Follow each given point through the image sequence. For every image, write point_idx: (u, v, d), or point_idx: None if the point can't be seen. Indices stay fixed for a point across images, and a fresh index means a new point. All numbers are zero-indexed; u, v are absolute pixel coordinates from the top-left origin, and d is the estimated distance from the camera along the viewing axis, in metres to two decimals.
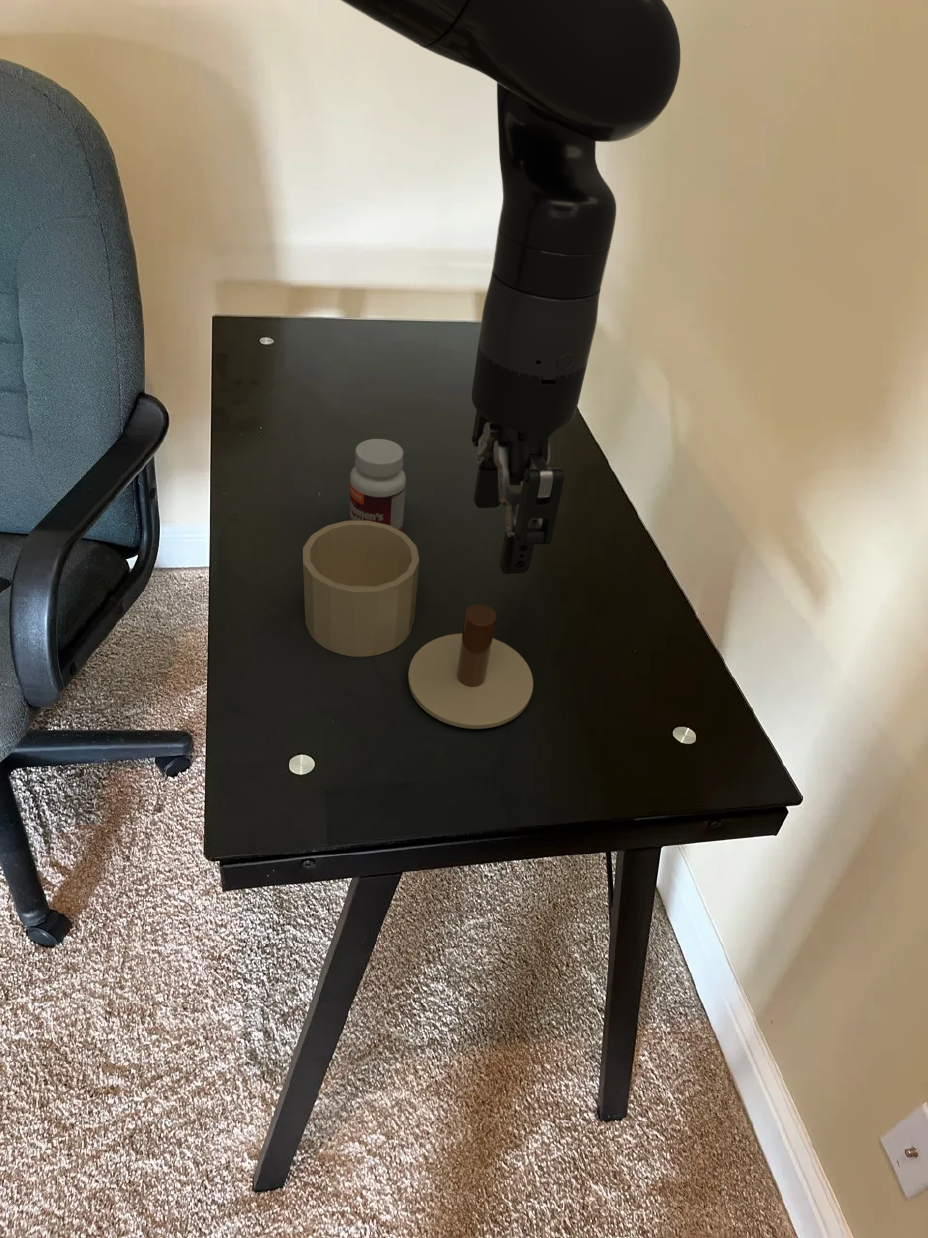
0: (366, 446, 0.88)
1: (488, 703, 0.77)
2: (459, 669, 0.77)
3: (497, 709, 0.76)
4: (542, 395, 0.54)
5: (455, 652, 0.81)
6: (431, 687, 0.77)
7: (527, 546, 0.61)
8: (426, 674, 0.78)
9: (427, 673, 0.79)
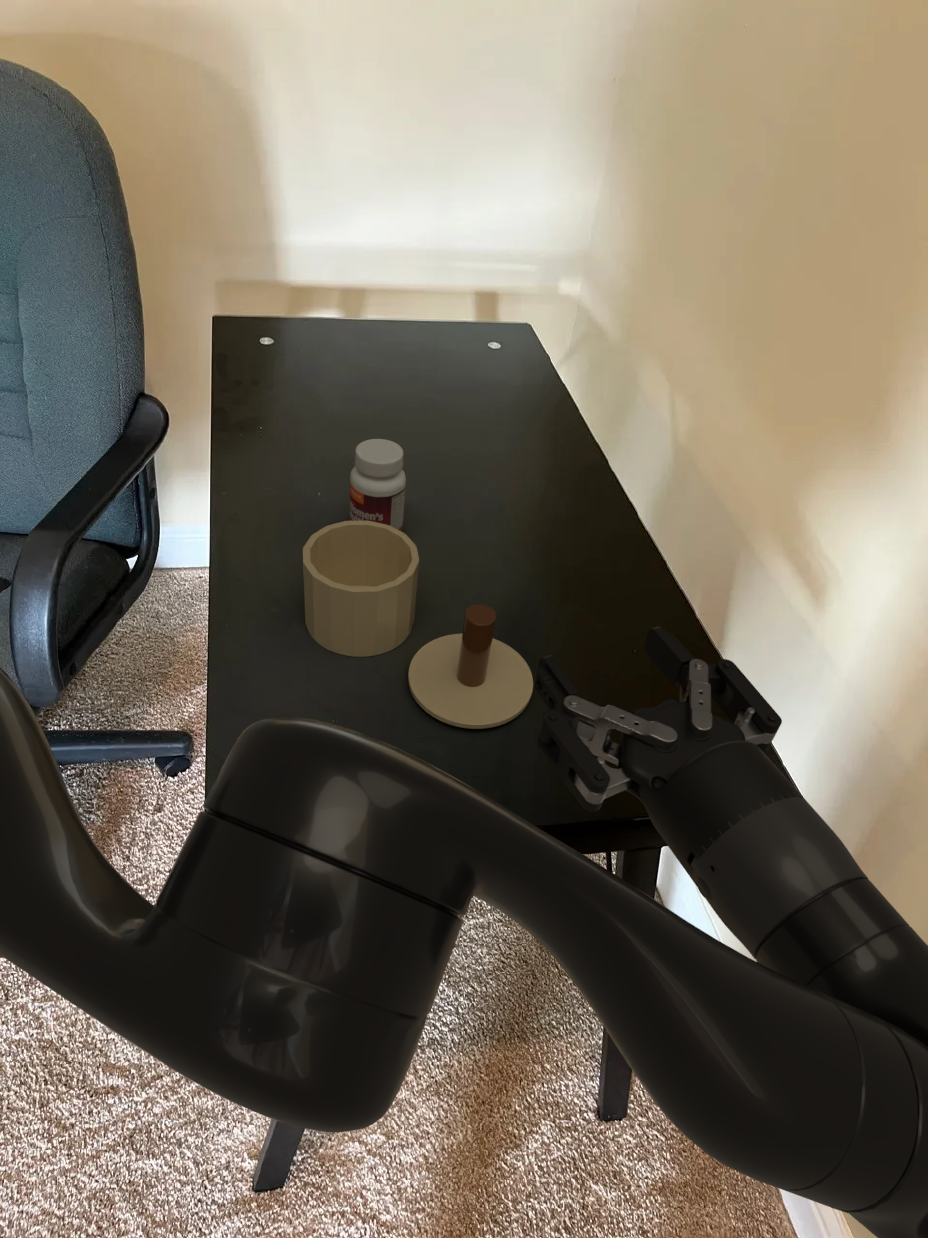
0: (366, 446, 0.88)
1: (488, 703, 0.77)
2: (459, 669, 0.77)
3: (497, 709, 0.76)
4: (681, 841, 0.44)
5: (455, 652, 0.81)
6: (431, 687, 0.77)
7: (551, 706, 0.52)
8: (426, 674, 0.78)
9: (427, 673, 0.79)
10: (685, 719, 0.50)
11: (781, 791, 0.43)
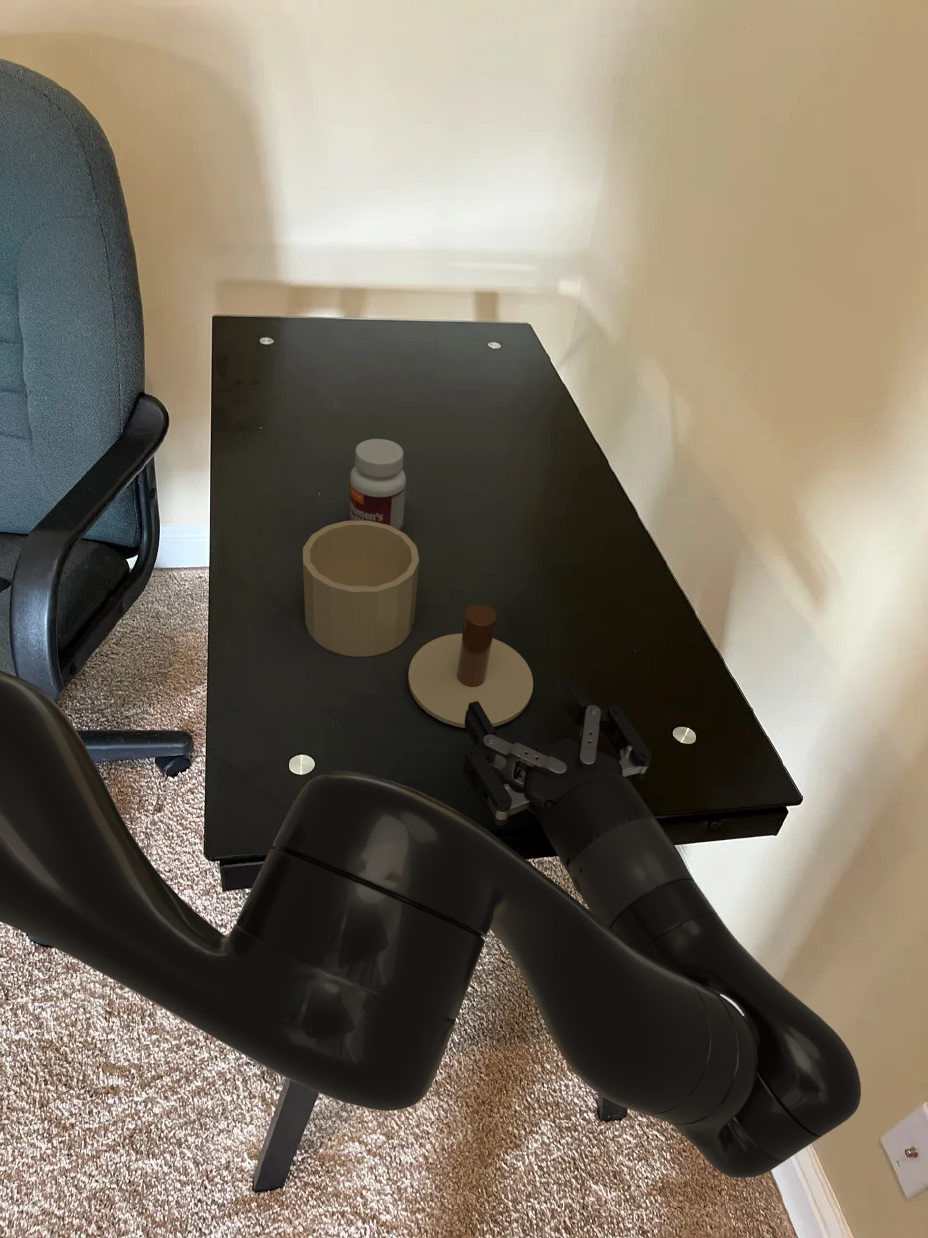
0: (366, 446, 0.88)
1: (488, 703, 0.77)
2: (459, 669, 0.77)
3: (497, 709, 0.76)
4: (562, 849, 0.59)
5: (455, 652, 0.81)
6: (431, 687, 0.77)
7: (476, 741, 0.66)
8: (426, 674, 0.78)
9: (427, 673, 0.79)
10: (576, 754, 0.64)
11: (635, 813, 0.58)
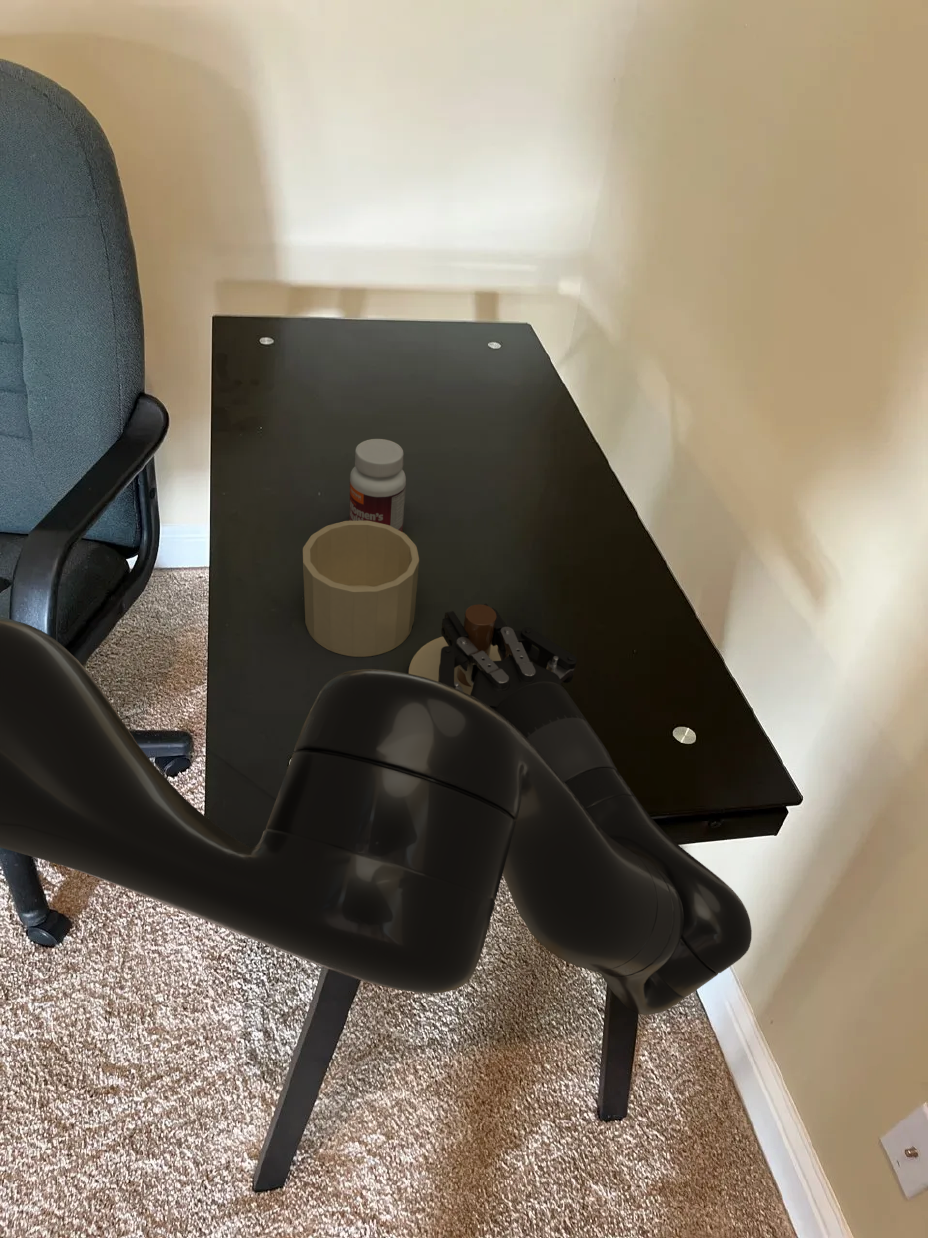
0: (366, 446, 0.88)
1: None
2: (459, 669, 0.77)
3: None
4: None
5: None
6: None
7: (451, 645, 0.74)
8: (426, 674, 0.78)
9: (427, 673, 0.79)
10: None
11: (566, 713, 0.64)
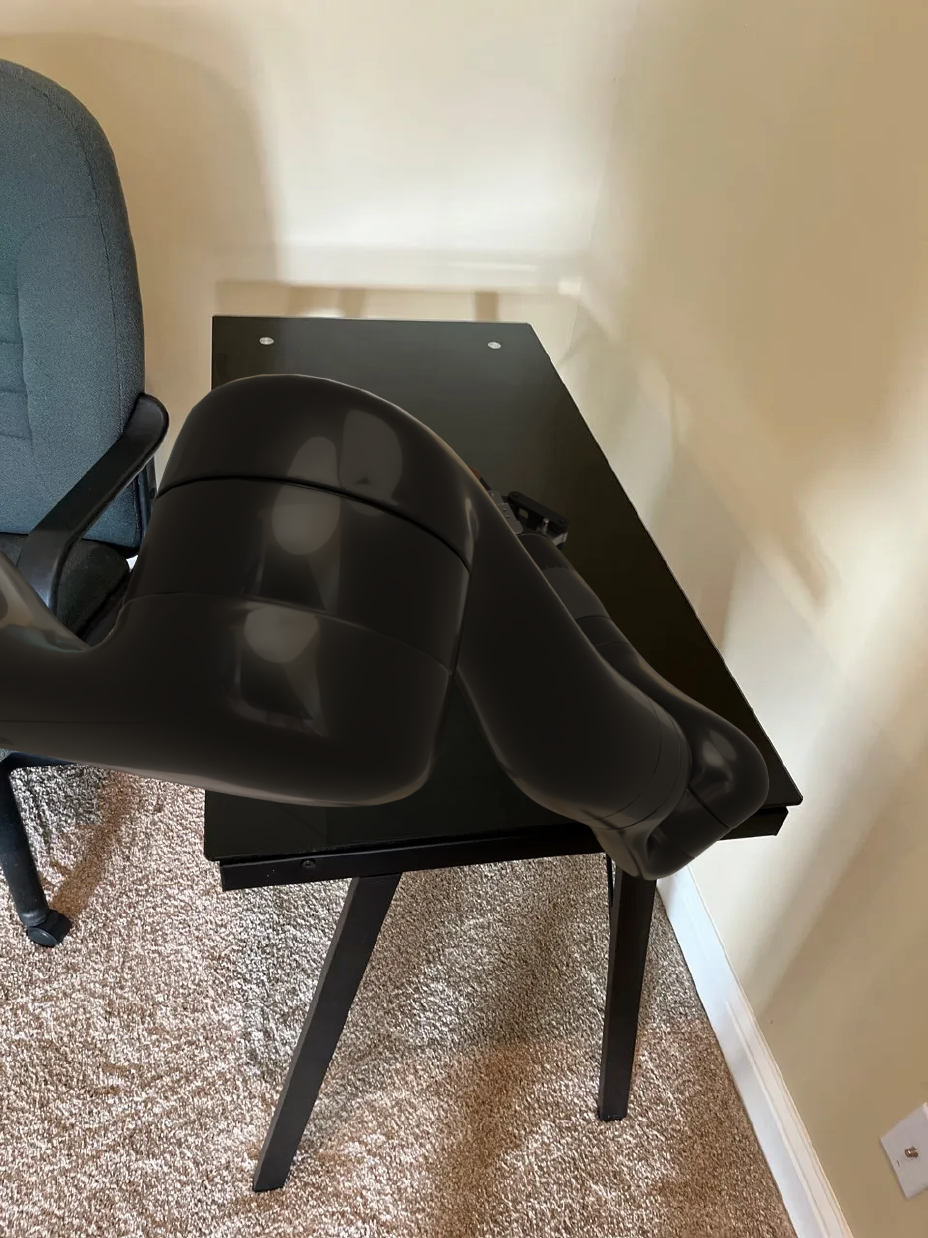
0: None
1: None
2: None
3: None
4: None
5: None
6: None
7: None
8: None
9: None
10: None
11: (556, 563, 0.57)
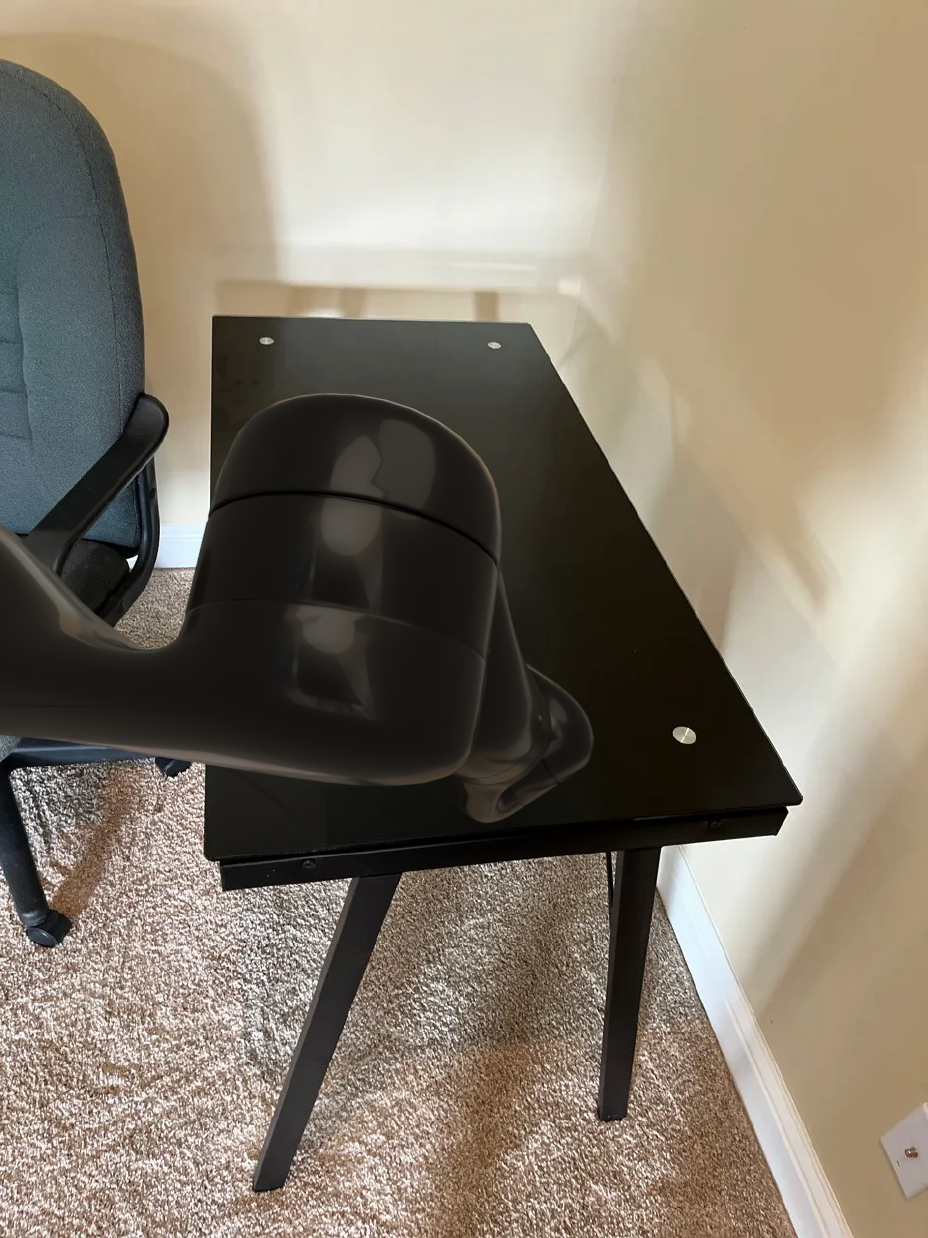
0: None
1: None
2: None
3: None
4: None
5: None
6: None
7: None
8: None
9: None
10: None
11: None
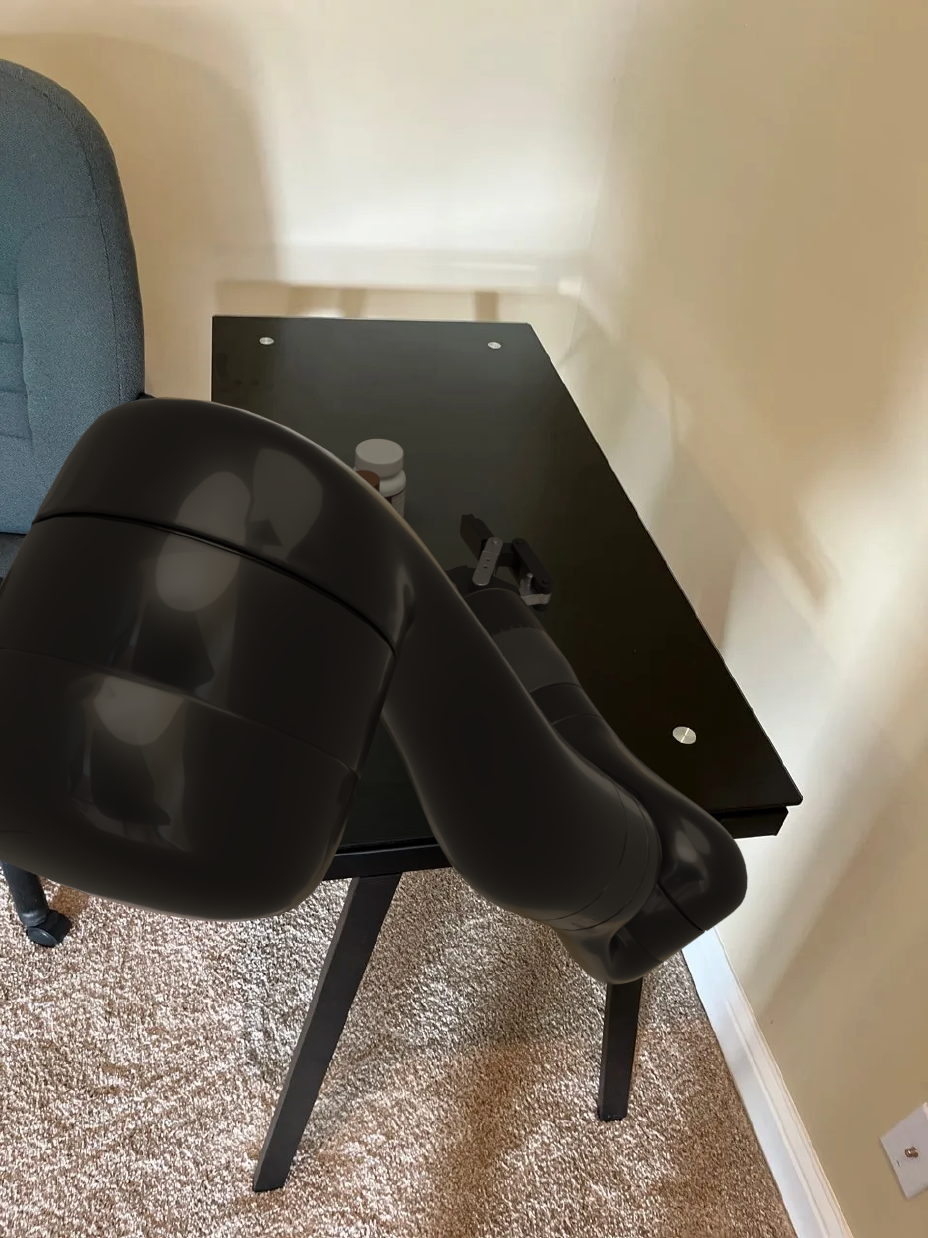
0: (366, 446, 0.88)
1: None
2: None
3: None
4: None
5: None
6: None
7: None
8: None
9: None
10: (470, 579, 0.59)
11: (522, 622, 0.53)
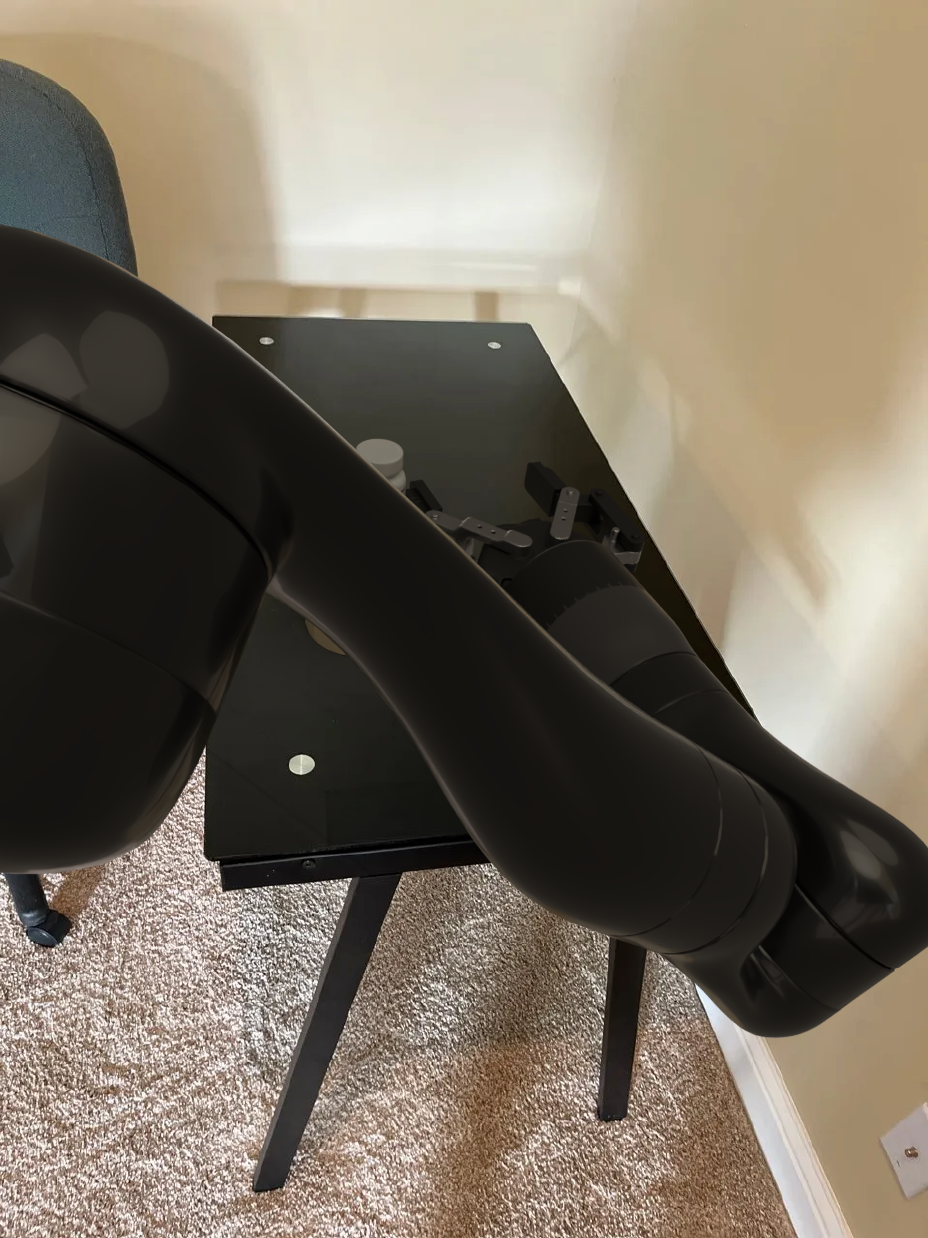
0: (366, 446, 0.88)
1: None
2: None
3: None
4: None
5: None
6: None
7: None
8: None
9: None
10: (546, 534, 0.49)
11: (621, 579, 0.43)
